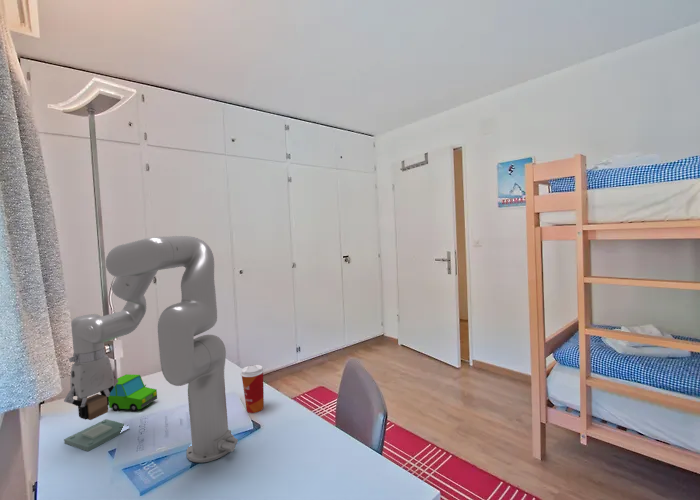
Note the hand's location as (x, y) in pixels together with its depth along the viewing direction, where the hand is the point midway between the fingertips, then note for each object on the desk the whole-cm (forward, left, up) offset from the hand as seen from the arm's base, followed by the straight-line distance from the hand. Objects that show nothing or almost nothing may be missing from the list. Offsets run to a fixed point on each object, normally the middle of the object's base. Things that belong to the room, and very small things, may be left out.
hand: (94, 413), depth 107 cm
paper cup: (-37, -29, -7) cm, 48 cm away
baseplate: (0, 0, -7) cm, 7 cm away
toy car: (+8, -17, -8) cm, 20 cm away
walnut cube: (0, 0, -1) cm, 1 cm away
